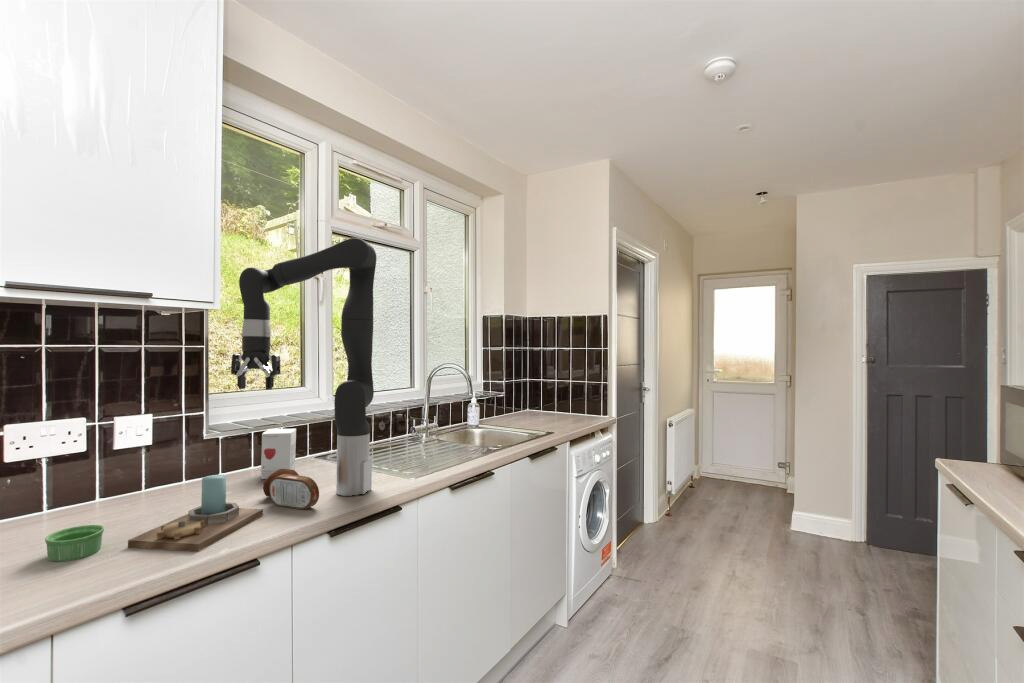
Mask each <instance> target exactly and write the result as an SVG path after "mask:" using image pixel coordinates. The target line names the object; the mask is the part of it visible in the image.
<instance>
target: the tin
mask: <svg viewBox="0 0 1024 683" xmlns="http://www.w3.org/2000/svg"><path fill="white" fill-rule="evenodd" d="M269 494H270V497H269V498H270V499H271V501H272V502H273V504H275V505H276V506H278V507H283V508H288V507H289V509H296V510H301V509H302V510H303V511H304V510H308V509H309V508H311V507H313V506H314V507H315V505H316V504H317V503H318V502H319V498H320V489H319V486H318V484H317V483H316V482H315V480H314V478H313V479H312V477H309V476H306V475H304V476H303V475H299V474H298V475H291V474H281V475H279V476H277V477H275V478H274V479H272V481H271V482H270V484H269Z"/></svg>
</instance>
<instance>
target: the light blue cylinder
mask: <svg viewBox="0 0 1024 683" xmlns="http://www.w3.org/2000/svg"><path fill="white" fill-rule="evenodd" d="M200 500H201V503H200V504H201V505H200V506H201V515H212V514H217V513H223V512H225V509H226V502H227V475H225V474H213V475H211V474H210V475H207V476H204V477H202V478H201V499H200Z"/></svg>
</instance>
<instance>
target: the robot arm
mask: <svg viewBox="0 0 1024 683" xmlns="http://www.w3.org/2000/svg"><path fill="white" fill-rule="evenodd" d="M376 266H377V252H376V250H375V248H374V247H373V246H372V245H371V244H370V243H368V242H367V241H365V240H364V239H362V238H360V237H350V238H347V239H344V240H342V241H340V242H338V243H335V244H333V245H331V246H328V247H326V248H325V249H322V250H320V251H317V252H313V253H310V254H307V255H303V256H300V257H296V258H292V259H288V260H284V261H280V262H278V263H276V264H274V265H273V267H272V268H269V269H264V270H263V269H260V268H256V267H247V268H245V269H244V270H242V272H241V273H240V275H239V278H238V285H239V290H240V291H239V292H240V296H241V301H242V304H243V322H242V329H241V331H242V334H241V349H242V354H239V353H235V354H234V353H233V354H232V355H231V363H230V364H231V368H230V374H231V375H234V376H236V377H237V379H236V380H237V382H236V384H237V387H238V389H239V390H244V389H246V388H247V387H246V386H247V385H246V383H247V382H246V381H247V380H246V379H247V376H246V374H248V372H249V371H250V370H253V369H255V370H261V371H262V372H263V373H264V374H265V376H266V377H265V390H266V391H267V390H268V391H269V390H272V389H273V388H274V382H275V381H274V379H275V377H276V376H278V375H281V374H282V373H281V371H282V370H281V356H280V355H279V354H272V355H271V354H270V350H271V334H272V333H271V331H272V330H271V321H270V320H271V305H270V303H269V302H268V301H266V299H265V294H267V293H273V292H275V291H277V290H279V289H282V288H284V287H286V286H290V285H293V284H298V283H302V282H304V281H307V280H310V279H312V278H315V277H317V276H318V275H320V274H323V273H325V272H328V271H332V270H336V269H337V270H338V269H344V268H346V269H347V268H348V271H349V289H348V292H347V295H346V298H345V301H344V303H343V307H342V310H341V311H342V312H341V318H340V319H341V324H340V325H341V326H340V328H341V329H340V335H341V341H342V345H343V349H344V351H345V355H346V359H347V378H346V381H344V382H341V383H339V385H338V386H337V387H336V390H335V393H334V424H335V427H336V430H337V431H336V434H337V437H336V484H335V486H336V492H335V493H336V494H337V495H339V496H342V497H343V496H344V497H347V496H348V497H351V496H352V495H355V496H360V495H359V494H364V495H365V494H367V493H368V492H370V491H371V490H372V488H373V487H372V481H373V480H372V479H373V478H372V476H373V474H372V473H373V469H372V468H373V458H372V457H370V450H371V449H370V445H371V444H370V442H371V441H370V440H371V436H370V435H371V426H370V423H369V422H368V420H367V413H366V409H367V408H368V406H369V405H371V403H372V402H373V399H374V390H375V389H374V388H375V387H374V380H373V362H372V360H373V343H374V342H373V341H374V340H373V339H374V280H375V273H376V268H377V267H376ZM242 361H243V363H242ZM269 362H271V365H270V363H269ZM370 489H371V490H370ZM367 491H368V492H367ZM366 492H367V493H366Z"/></svg>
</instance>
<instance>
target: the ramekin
mask: <svg viewBox="0 0 1024 683" xmlns="http://www.w3.org/2000/svg"><path fill="white" fill-rule="evenodd" d="M104 529H105V527H104V526H103V525H99V524H87V525H85V524H84V525H77V526H72V527H69V528H67V527H66V528H63V529H59V530H57V531H54V532H52V533H49V534H48V535H46V537H45V538H44V542H45V544H46V552H47V558H48V559H47V560H49V561H50V562H54V563H55V562H56V563H57V562H58V563H61V562H69V561H75V560H80V559H83V558H86V557H89V556H91V555H93V554H96V553H98V552H99V550H101V546H102V539H103V534H104V532H105V530H104Z"/></svg>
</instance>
